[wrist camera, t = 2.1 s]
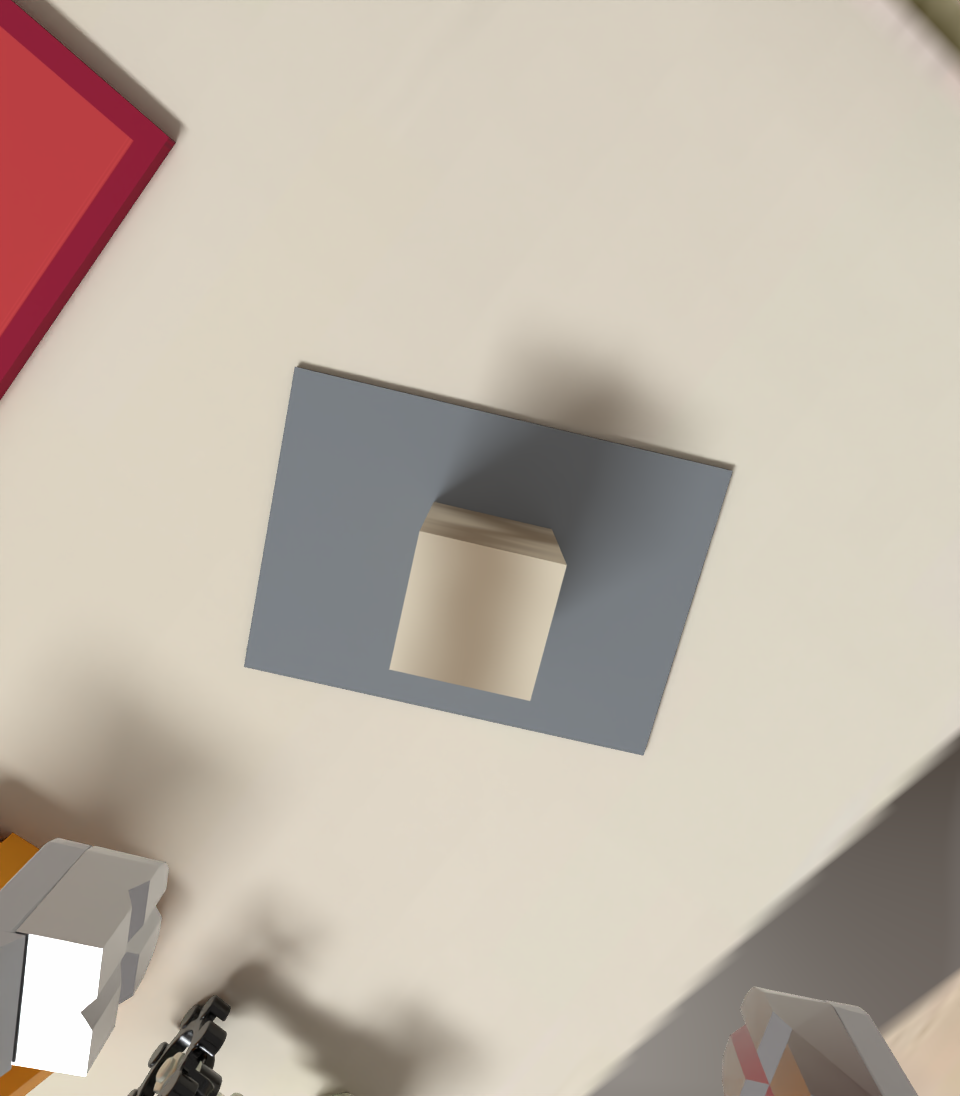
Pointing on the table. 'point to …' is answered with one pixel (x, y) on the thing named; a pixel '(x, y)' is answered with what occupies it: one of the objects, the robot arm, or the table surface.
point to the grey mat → (491, 488)
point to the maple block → (479, 601)
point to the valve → (190, 1056)
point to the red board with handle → (58, 178)
